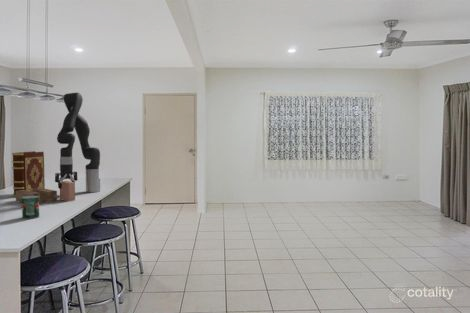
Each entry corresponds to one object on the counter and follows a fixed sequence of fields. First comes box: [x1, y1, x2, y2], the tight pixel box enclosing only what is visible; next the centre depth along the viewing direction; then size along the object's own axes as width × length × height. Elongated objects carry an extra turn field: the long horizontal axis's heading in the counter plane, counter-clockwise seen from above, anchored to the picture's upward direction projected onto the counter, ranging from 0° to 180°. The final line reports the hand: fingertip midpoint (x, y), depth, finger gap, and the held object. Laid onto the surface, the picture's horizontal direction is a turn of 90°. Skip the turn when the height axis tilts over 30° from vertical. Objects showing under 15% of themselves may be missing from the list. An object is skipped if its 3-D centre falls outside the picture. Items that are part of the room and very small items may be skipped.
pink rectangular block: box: [59, 180, 76, 202], centre depth 236 cm, size 4×11×12 cm, turn 56°
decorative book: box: [11, 150, 46, 198], centre depth 253 cm, size 22×8×30 cm, turn 168°
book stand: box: [15, 188, 58, 204], centre depth 231 cm, size 16×20×6 cm
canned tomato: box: [21, 196, 40, 220], centre depth 188 cm, size 8×8×11 cm
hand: (66, 188), depth 236 cm, fingers open, 8 cm apart
